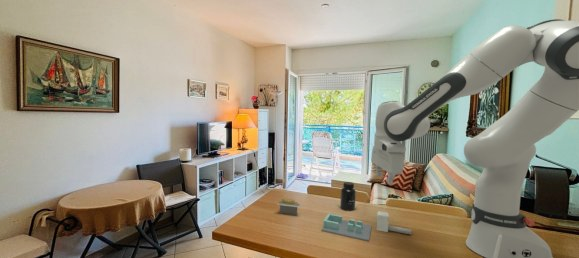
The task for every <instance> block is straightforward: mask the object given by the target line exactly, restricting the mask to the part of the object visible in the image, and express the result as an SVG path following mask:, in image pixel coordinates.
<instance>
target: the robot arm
mask: <svg viewBox="0 0 579 258" xmlns="http://www.w3.org/2000/svg"><path fill="white" fill-rule="evenodd" d="M531 62H533V63H535V64H537V65H539V66H542V67H544V69H543V71H544V72H543V74H542V75H541V77H540V78H539V80H537V82H535V83H534V85H532V86H531V87H530V89H529V90H527V92H526V93H525V94H523V96H522V97H521V98H520V99H519V100H518V101H516V103H515V104H514V105H513V106H512V107H511V109H509V110H508V111H507V112H506V113H505V114H503V116H501V117H500V118H499V119H497V120H496V121H494V122H493V123H492V124H490V125H489V126H488V127H487V128H485V129H484V130H483V131H481V132H480V133H479V134H477V135H475V136H474V137H472V138H470V139H468V140H467V141H466V142H465V144H464V147H463V154H464V157H465V159H466V160H467V162H468V163H470V164H471V165H473V166H475V167H478V168H481V169H483V170H482V172H481V173H480V176H479V177H478V178H477V180H476V181H475V185H474V186H475V189H474V201H473V202H474V203H472V207H471V212H470V213H471V227H470V230H469V233H468V236H467V238H466V240H465V245H466V246H467V248H469V249H470V250H471V251H473V252H474V253H476V254H477V255H479V256H481V257H484V258H554V257H553V252H552V250H551V247H550V246H549V244H548V243H547V242H546V241H545V240H544V239H543V238H542V237H540V236H539V235H538V234H537V233H535V232H534V231H533V230H532V229H530V228H529V227H534V226H535V224H536V223H535V221H534V220H533V219H532V218H530V217H528V216H525V214H523V213H521V212H520V207H521V196H522V194H521V193H522V187H523V185H524V182H525V180H526V177H527V173H528V170H529V166H530V164H531V162H532V159H533V158H534V157H535V156H536V153H537V147H536V143H537V142H540V141H541V140H542V139H544V138H546V137H548V136H549V135H551V134H553V133H554V132H556V131H557V129H558V128H560V127H561V126H562V125H563V124H564V123H565V122H567V121H568V120H569V119H570V118H571V117H572V116H574V115H575V114H576V113H577V112H578V111H579V20H576V19H575V20H567V19H566V20H565V19H560V18H559V19H558V18H557V19H556V18H555V19H548V20H545V21H541V22H539V23H536V24H534V25H531V26H529V27H528V26H527V27H524V26H522V25H507V26H504V27H502V28H500V29H499V30H497V31H495V32H494V33H493V34H491V35H490V36H489V37H487V38H485V39H484V40H483V41H482V42H480V43H479V44H478V45H476V46H475V47H474V48H473V49H471V50H470V51H469V52H468V53H467V54H465V56H464V57H463V58H461V60H459V61H458V62H457V63H456V64H455V65H454V66H452V68H451V69H450V70H449V71H447V72H446V73H445V74H444V75H442V77H441V78H440V79H439V80H437V81H436V82H434V84H432V85H430V86H429V87H428V88H427V89H426V90H424V91H423V92H421V93H420V94H419V95H418V96H417V97H415V99H413V100H412V101H410V103H407V104H406V105H404V104H403V103H401V102H400V101H398V100H392V101H391V100H390V101H385V102H381V103H380V104H379V105H378V107H377V109H376V114H375V124H374V125H375V133H374V141H373V147H372V151H371V158H370V159H371V163H373V164H375V170H376V173H375V174H376V176H377V177H378V178H379V177H380V178H381V177H383V172H382V171H383V170H384V171H385V172H387V177H386V184H388V185H393V184H394V179H395V177H396V176H397V175H402V173H403V171H404V163H405V162H404V161H405V155H404V153H406V149H407V148H406V146H405V145H404V144H403V143H402V142H404V141H407V140H412V139H417V138H421V137H423V136H425V135H426V134H427V133H428V132H429V130H430V129H431V121H430V120H431V119H430V118H429V116H430V115H432V114H433V113H435V112H436V111H437V110H439V109H440V108H441V107H443V106H444V105H446V104H447V103H450V102H451V101H454V100H457V99H460V98H463V97H467V96H473V95H477V94H479V93H481V92H483V91H485V90H487V89H489V88H491V87H492V86H493V85H495V84H497V83H498V82H499V81H501V80H502V79H503V78H505V77H507V75H508V74H510V73H511V72H512V71H514V70H515V69H517V68H519V67H520V66H523V65H525V64H527V63H531Z"/></svg>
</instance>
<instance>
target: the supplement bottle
mask: <svg viewBox="0 0 579 258" xmlns="http://www.w3.org/2000/svg"><path fill="white" fill-rule="evenodd" d="M342 186H343V187H342V188H341V190H340V205H339V207H340V208H341V209H342V210H344V211H354V210H355V209H356V197H357V196H356V195H357V192H356V189H355V183H354V182H349V181H345V182H343V185H342Z"/></svg>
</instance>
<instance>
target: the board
mask: <svg viewBox="0 0 579 258" xmlns="http://www.w3.org/2000/svg"><path fill="white" fill-rule="evenodd" d="M322 224H323V226H322V228H321V232H324V233H328V234H335V235H339V236H343V237H348V238H350V239H351V238H352V239H356V240H361V241H365V242H369V241H370V236H371V233H372V225H370V224H366V223H364V221H363V220H357V222H356V220H355V219H352V218H350V219H349V220H346V219H343V216H342V215H339V214H334V213H327V215H326V216H325V218H324V220H323V223H322Z"/></svg>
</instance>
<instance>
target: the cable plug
mask: <svg viewBox="0 0 579 258" xmlns="http://www.w3.org/2000/svg"><path fill="white" fill-rule="evenodd" d="M389 218H390V217H389V212H387V211H386V212H385V211H380V210H379V211H377V214H376V231H379V232H385V233H388V232H389V231H391V232H395V233H401V234H406V235H409V236H411V235H412V229H409V228H404V227H400V226H394V225H390V224H389Z"/></svg>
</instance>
